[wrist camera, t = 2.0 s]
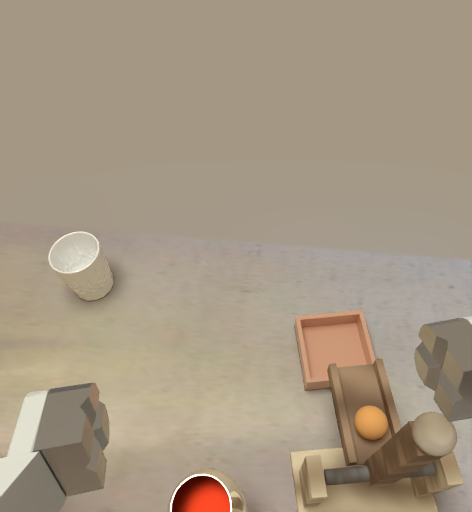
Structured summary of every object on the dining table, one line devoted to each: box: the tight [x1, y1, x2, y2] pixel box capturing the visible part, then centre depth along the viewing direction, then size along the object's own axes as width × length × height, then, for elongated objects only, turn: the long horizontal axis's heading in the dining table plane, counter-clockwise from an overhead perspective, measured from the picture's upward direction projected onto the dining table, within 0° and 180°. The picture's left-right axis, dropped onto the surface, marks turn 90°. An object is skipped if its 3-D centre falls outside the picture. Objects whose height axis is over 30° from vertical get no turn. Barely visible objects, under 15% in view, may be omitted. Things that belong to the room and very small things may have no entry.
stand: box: [290, 448, 464, 512], centre depth 51 cm, size 9×17×13 cm, turn 95°
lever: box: [324, 359, 457, 487], centre depth 43 cm, size 14×12×22 cm
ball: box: [354, 406, 388, 440], centre depth 49 cm, size 4×4×4 cm
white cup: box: [49, 232, 114, 301], centre depth 72 cm, size 8×8×10 cm
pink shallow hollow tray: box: [294, 310, 375, 390], centre depth 65 cm, size 10×10×4 cm
